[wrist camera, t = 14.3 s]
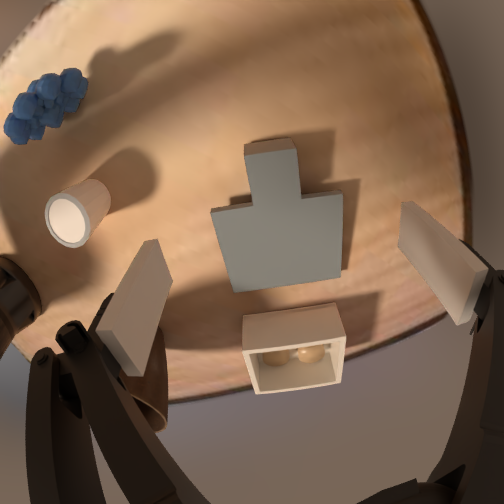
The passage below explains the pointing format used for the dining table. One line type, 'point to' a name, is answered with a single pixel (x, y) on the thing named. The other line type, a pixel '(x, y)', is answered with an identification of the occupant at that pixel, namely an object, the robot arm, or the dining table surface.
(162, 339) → the plant pot
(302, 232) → the lid
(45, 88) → the grapes
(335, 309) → the tub
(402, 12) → the dining table surface
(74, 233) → the beige cup
